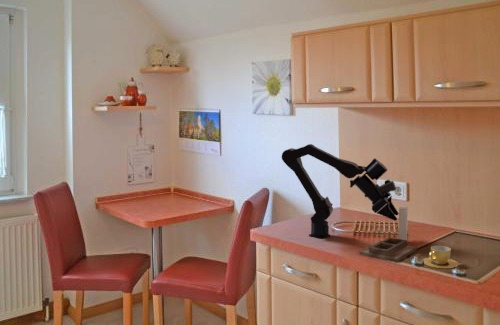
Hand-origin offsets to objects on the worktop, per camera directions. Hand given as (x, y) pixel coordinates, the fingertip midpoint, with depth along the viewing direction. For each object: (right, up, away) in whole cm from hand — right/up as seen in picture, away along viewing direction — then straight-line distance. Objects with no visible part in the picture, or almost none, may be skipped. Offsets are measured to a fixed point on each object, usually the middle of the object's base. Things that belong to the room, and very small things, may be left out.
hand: (397, 217), depth 198 cm
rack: (-7, -12, -12) cm, 18 cm away
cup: (+8, -13, -24) cm, 29 cm away
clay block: (+2, -10, +1) cm, 10 cm away
